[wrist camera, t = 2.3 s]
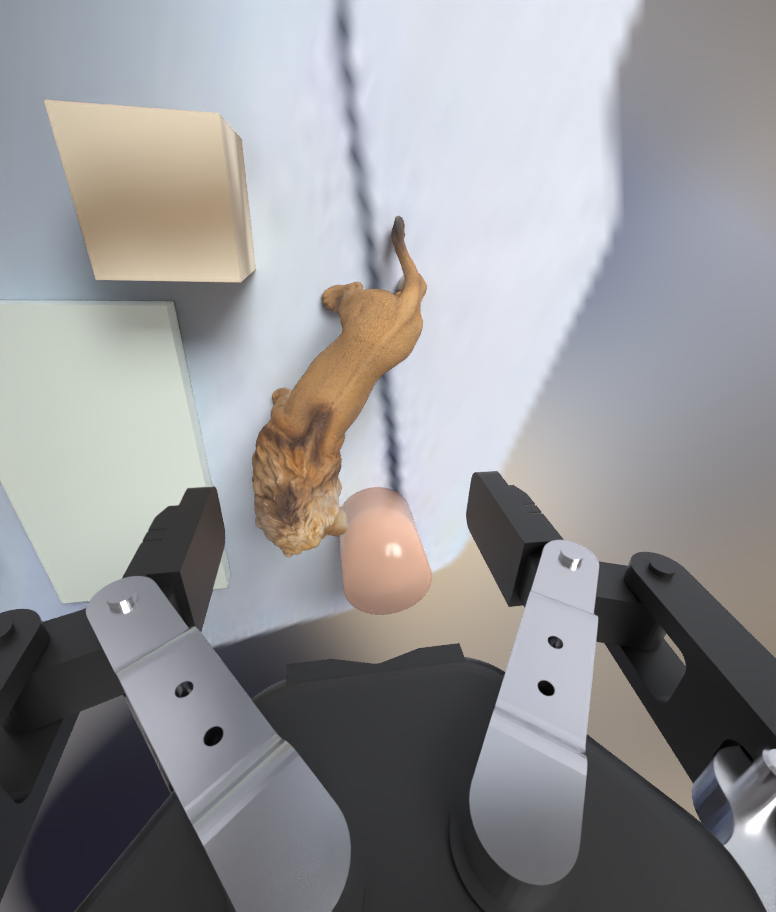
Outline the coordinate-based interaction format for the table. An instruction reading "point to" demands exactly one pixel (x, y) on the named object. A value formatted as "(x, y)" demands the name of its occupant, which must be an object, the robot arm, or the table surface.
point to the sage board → (95, 432)
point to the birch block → (156, 191)
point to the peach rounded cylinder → (382, 553)
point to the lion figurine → (331, 408)
